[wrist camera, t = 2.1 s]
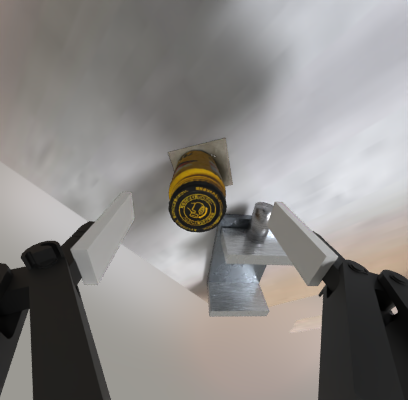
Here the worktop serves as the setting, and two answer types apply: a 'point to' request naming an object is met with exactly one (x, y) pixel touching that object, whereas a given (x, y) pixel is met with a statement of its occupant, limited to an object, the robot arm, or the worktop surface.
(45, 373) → the robot arm
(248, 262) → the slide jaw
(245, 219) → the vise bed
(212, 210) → the condiment
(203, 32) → the worktop surface
